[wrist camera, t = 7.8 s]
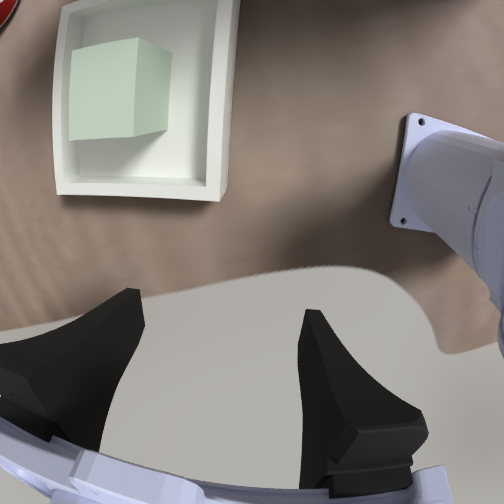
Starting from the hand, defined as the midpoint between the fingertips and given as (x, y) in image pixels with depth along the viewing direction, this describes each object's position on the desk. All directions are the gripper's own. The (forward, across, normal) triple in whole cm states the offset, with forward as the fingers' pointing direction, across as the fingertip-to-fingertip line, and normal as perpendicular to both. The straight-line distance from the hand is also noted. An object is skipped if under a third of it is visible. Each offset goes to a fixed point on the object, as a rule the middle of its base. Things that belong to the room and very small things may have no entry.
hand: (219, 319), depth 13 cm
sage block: (+8, +7, -10) cm, 14 cm away
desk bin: (+9, +7, -10) cm, 15 cm away
